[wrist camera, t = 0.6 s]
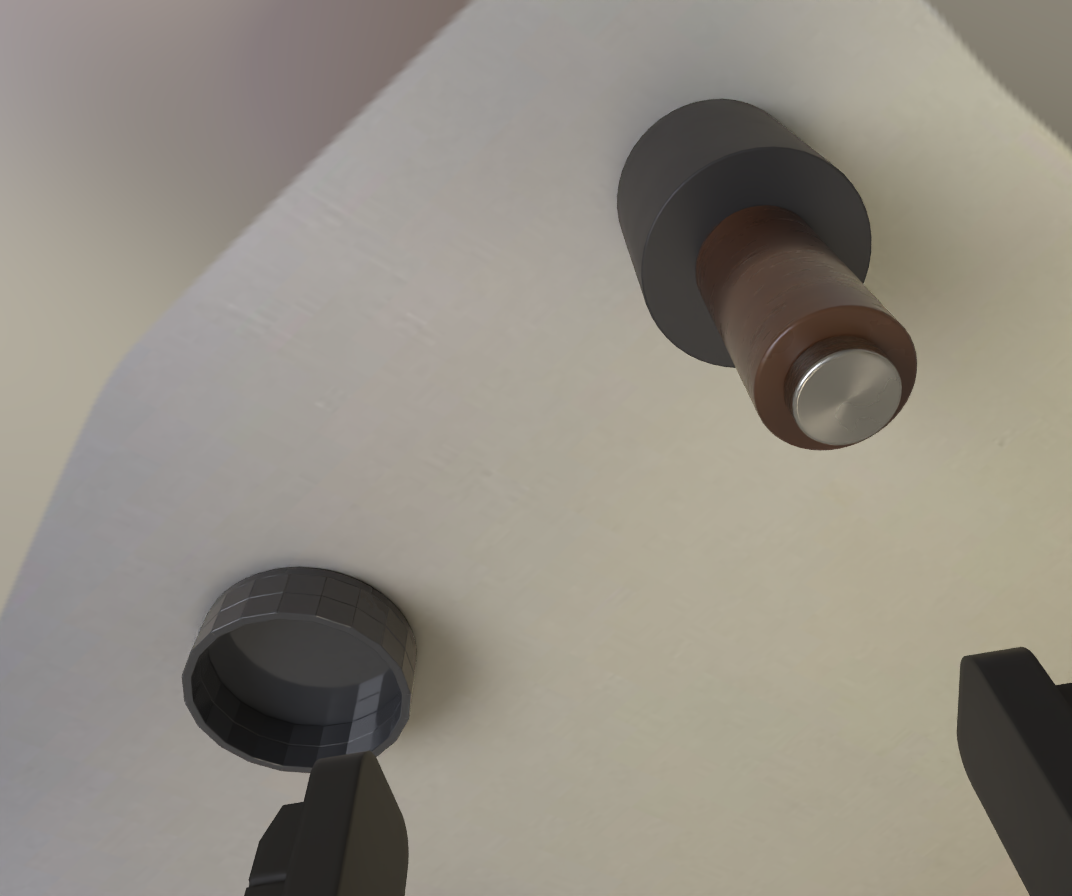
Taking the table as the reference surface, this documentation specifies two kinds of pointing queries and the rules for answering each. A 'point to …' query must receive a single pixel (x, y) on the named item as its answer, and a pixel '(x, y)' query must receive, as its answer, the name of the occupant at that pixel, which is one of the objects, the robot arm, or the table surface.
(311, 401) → the table surface
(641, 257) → the stand
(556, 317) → the table surface
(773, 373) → the pepper mill
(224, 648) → the pan
